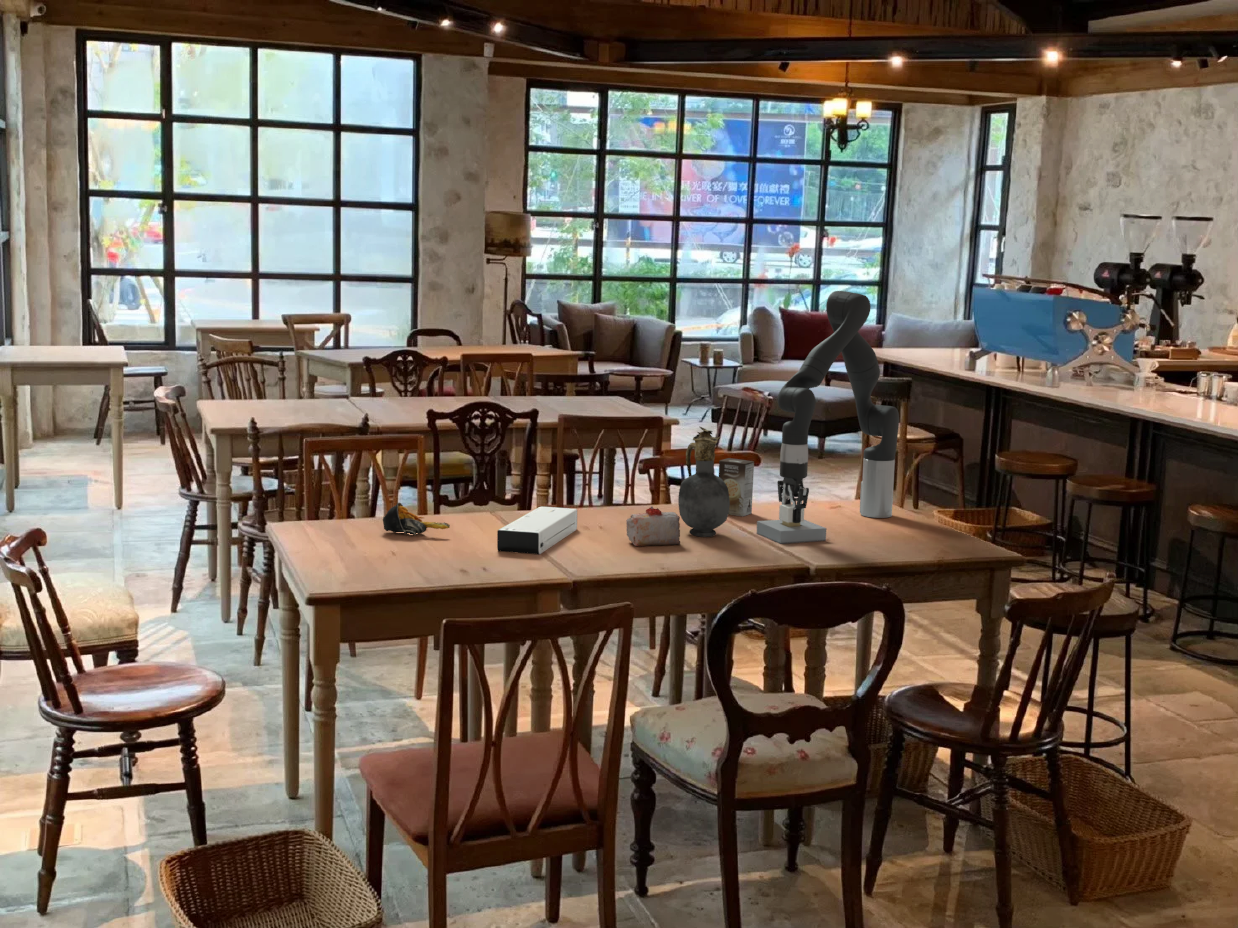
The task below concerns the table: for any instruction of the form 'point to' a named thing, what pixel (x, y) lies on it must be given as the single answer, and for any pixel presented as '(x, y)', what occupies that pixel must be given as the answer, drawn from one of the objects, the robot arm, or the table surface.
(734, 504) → the coffee box
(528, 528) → the laminator
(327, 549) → the table surface
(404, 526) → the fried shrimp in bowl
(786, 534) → the socket plate
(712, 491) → the pitcher
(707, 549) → the table surface
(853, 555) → the table surface
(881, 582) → the table surface
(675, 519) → the food item
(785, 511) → the plug
